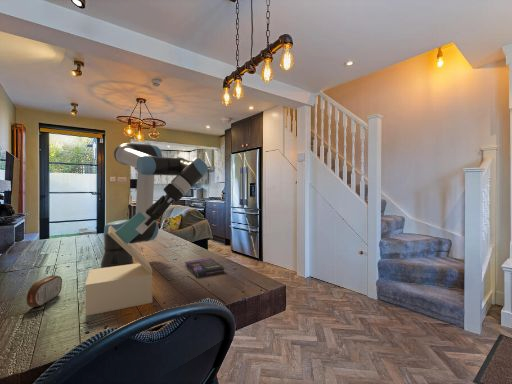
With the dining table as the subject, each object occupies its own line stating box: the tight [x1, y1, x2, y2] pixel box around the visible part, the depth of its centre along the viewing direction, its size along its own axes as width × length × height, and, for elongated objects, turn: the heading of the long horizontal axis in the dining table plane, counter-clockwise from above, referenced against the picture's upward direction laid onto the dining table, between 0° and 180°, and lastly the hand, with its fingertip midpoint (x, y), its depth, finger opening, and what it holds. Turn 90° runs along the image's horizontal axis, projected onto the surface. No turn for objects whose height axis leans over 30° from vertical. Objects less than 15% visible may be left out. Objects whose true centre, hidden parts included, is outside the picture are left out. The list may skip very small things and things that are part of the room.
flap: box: [108, 211, 154, 274], centre depth 101 cm, size 20×18×12 cm
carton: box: [84, 262, 153, 317], centre depth 98 cm, size 20×18×10 cm
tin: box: [26, 274, 63, 308], centre depth 96 cm, size 15×3×8 cm, turn 5°
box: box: [184, 257, 225, 279], centre depth 132 cm, size 14×4×20 cm
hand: (136, 229), depth 100 cm, fingers open, 13 cm apart
